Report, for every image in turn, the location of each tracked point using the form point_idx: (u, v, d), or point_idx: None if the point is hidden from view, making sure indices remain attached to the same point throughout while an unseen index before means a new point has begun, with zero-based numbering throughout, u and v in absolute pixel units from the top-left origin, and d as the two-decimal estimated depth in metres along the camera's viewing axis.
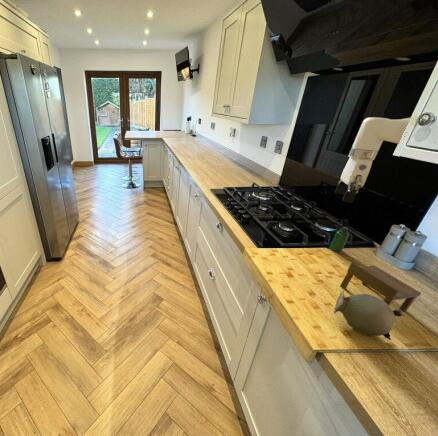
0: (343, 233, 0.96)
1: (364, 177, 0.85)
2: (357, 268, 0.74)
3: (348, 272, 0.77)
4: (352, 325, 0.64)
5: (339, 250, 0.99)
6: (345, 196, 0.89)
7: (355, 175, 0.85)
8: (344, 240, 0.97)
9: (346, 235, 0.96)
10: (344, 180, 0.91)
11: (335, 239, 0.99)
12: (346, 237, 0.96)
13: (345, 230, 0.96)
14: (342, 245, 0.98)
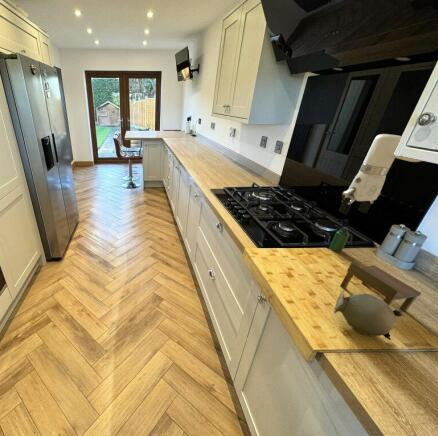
0: (343, 233, 0.96)
1: (358, 190, 0.87)
2: (357, 268, 0.74)
3: (348, 272, 0.77)
4: (352, 325, 0.64)
5: (339, 250, 0.99)
6: None
7: (351, 187, 0.89)
8: (344, 240, 0.97)
9: (346, 235, 0.96)
10: None
11: (335, 239, 0.99)
12: (346, 237, 0.96)
13: (345, 230, 0.96)
14: (342, 245, 0.98)
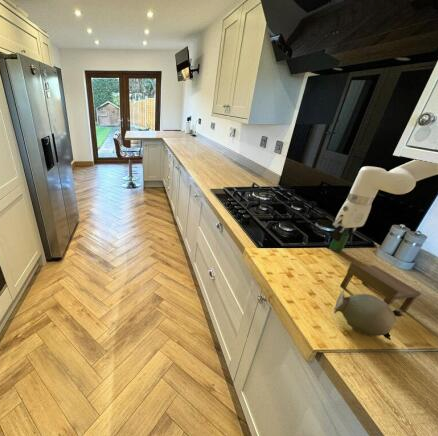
0: (343, 233, 0.96)
1: (345, 218, 0.92)
2: (357, 268, 0.74)
3: (348, 272, 0.77)
4: (352, 325, 0.64)
5: (339, 250, 0.99)
6: (333, 234, 0.99)
7: (339, 214, 0.94)
8: (344, 240, 0.97)
9: (346, 235, 0.96)
10: None
11: None
12: (346, 237, 0.96)
13: (345, 230, 0.96)
14: (342, 245, 0.98)
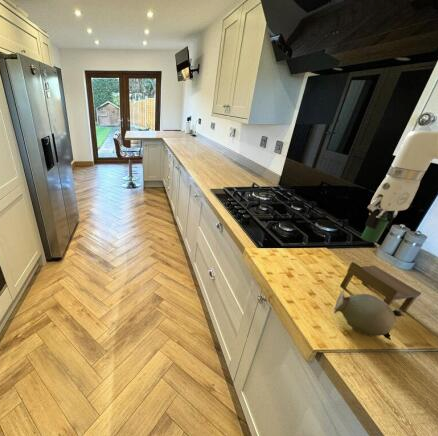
0: (381, 218, 0.77)
1: (386, 198, 0.72)
2: (357, 268, 0.74)
3: (348, 272, 0.77)
4: (352, 325, 0.64)
5: (375, 240, 0.79)
6: (368, 220, 0.79)
7: (377, 194, 0.74)
8: (382, 227, 0.77)
9: (385, 221, 0.77)
10: None
11: None
12: (385, 223, 0.77)
13: (383, 215, 0.77)
14: (379, 234, 0.78)
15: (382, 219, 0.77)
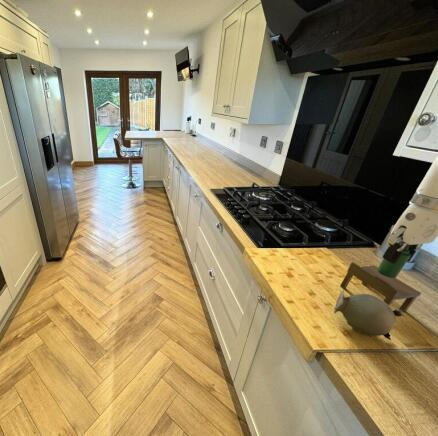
0: None
1: (410, 231, 0.61)
2: (357, 268, 0.74)
3: (348, 272, 0.77)
4: (352, 325, 0.64)
5: (394, 275, 0.69)
6: (386, 252, 0.68)
7: (398, 225, 0.64)
8: (403, 262, 0.67)
9: (406, 255, 0.66)
10: None
11: None
12: (406, 258, 0.66)
13: (405, 247, 0.66)
14: (399, 269, 0.68)
15: (403, 252, 0.66)
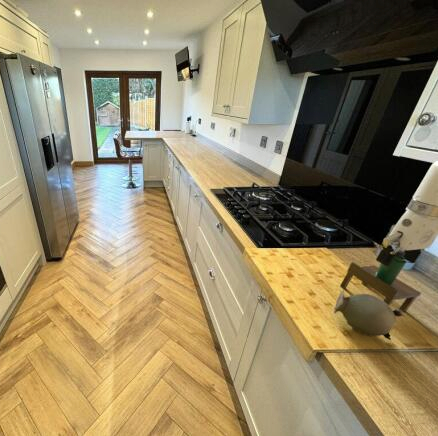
0: (397, 259, 0.67)
1: (407, 237, 0.62)
2: (357, 268, 0.74)
3: (348, 272, 0.77)
4: (352, 325, 0.64)
5: (389, 282, 0.70)
6: (380, 255, 0.68)
7: (395, 231, 0.64)
8: (398, 269, 0.68)
9: (402, 262, 0.67)
10: None
11: (384, 267, 0.70)
12: (402, 265, 0.67)
13: (400, 255, 0.67)
14: (395, 276, 0.69)
15: (399, 260, 0.67)
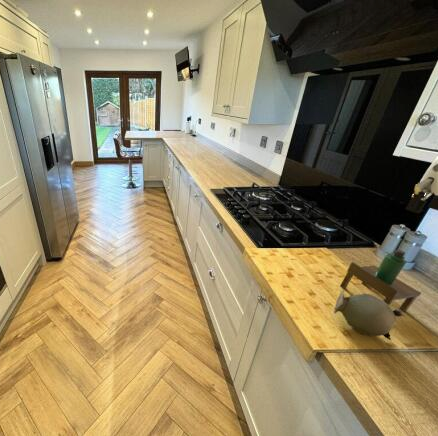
0: (397, 259, 0.67)
1: None
2: (357, 268, 0.74)
3: (348, 272, 0.77)
4: (352, 325, 0.64)
5: (389, 282, 0.70)
6: (410, 203, 0.71)
7: (426, 177, 0.67)
8: (398, 269, 0.68)
9: (402, 262, 0.67)
10: None
11: (384, 267, 0.70)
12: (402, 265, 0.67)
13: (400, 255, 0.67)
14: (395, 276, 0.69)
15: (399, 260, 0.67)
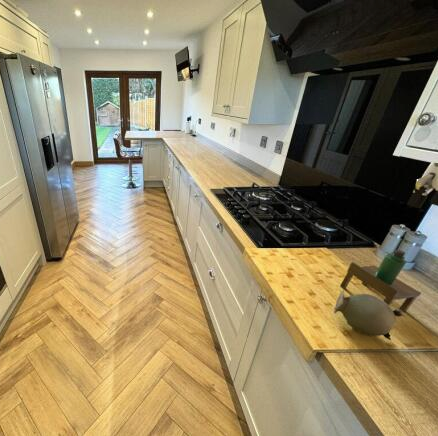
0: (397, 259, 0.67)
1: None
2: (357, 268, 0.74)
3: (348, 272, 0.77)
4: (352, 325, 0.64)
5: (389, 282, 0.70)
6: (411, 198, 0.72)
7: (428, 173, 0.68)
8: (398, 269, 0.68)
9: (402, 262, 0.67)
10: None
11: (384, 267, 0.70)
12: (402, 265, 0.67)
13: (400, 255, 0.67)
14: (395, 276, 0.69)
15: (399, 260, 0.67)
